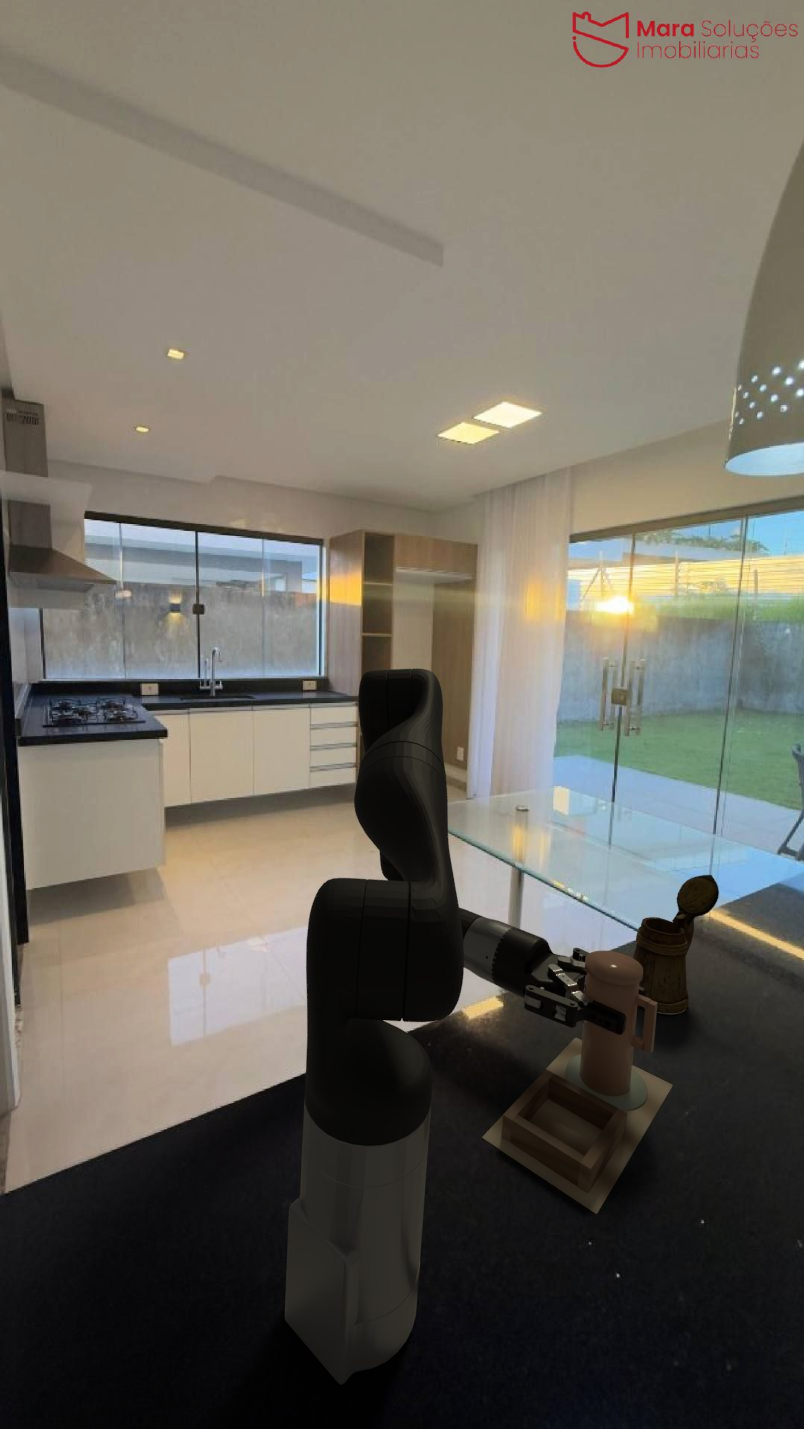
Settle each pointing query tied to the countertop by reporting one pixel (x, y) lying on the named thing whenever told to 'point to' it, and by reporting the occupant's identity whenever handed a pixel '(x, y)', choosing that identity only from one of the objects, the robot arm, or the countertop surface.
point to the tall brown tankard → (605, 1050)
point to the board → (577, 1128)
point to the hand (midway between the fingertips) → (635, 1011)
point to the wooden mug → (673, 945)
